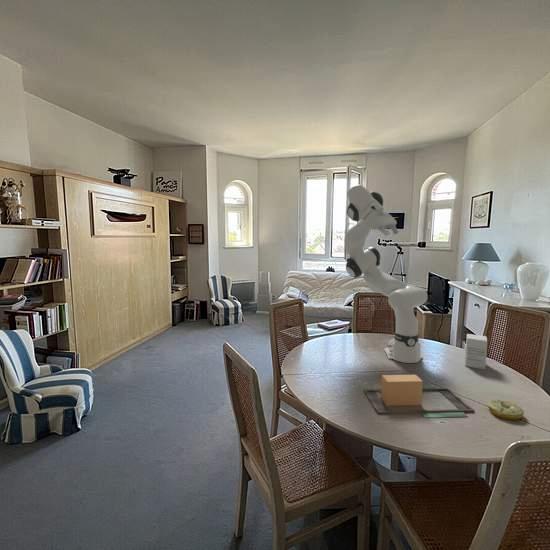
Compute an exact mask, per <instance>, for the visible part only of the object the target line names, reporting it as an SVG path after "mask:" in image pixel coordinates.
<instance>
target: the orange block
mask: <svg viewBox="0 0 550 550" xmlns="http://www.w3.org/2000/svg"><path fill="white" fill-rule="evenodd" d="M422 386H423V380H422V379H421V378H420V377H419V376H418V375H417V374H383V375H381V388H380V389H381V392H380V393H381V394H380V398H381V400H382V401H383V403H384V404H385V406H386V407H388V406H422V400H423V398H422V397H423V391H422Z"/></svg>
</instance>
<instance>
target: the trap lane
mask: <svg viewBox="0 0 550 550" xmlns="http://www.w3.org/2000/svg"><path fill="white" fill-rule="evenodd" d="M422 392H439V393H440V394H441V395H442V396H444V397H445V398H446V399H447V400H448V401H450V403H452V404H453V406H455V407H456V408H457V409H456V408H455V409H453V408H452V409H450V408H449V409H402V410H400V409H399V410H398V409H396V410H395V409H394V410H389V408H388V406H386V404H385V403H384V401H383V400H382V399H381V396H379V394H378V393H381V388H365V389H363V393H364V394H365V396H366V397H367V399H368V401H369V402H370V404H371V405H372V407H373V409H374V411H375V412H376V413H377V415H403V414H406V415H408V414H421V415H422V416H423V417H424V418H425V419H426V418H427V419H432V418H433V419H435V418H437V419H438V418H468V417H469V416H468V415H467V413H475V411H476V410H475V409H474V408H472V406H471V405H469V404H468V403H466V402H465V401H464V400H463V399H462V398H461V397H460V396H458V395H457V394H456V393H455V392H454V391H452V390H451V389H450V388H449V387H436V386H435V385H422Z"/></svg>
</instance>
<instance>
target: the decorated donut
mask: <svg viewBox="0 0 550 550" xmlns="http://www.w3.org/2000/svg"><path fill="white" fill-rule="evenodd" d="M487 405H488V410H489V411H490V413H491V414H492V415H494V416H496V417H498V418H501V419H504V420H512V421H517V420H521V418H522V417H524V413H525V411H524V409H523V408H522V406H519V405H518V404H517V403H514V402H513V401H510V400H506V399H493V400H491V401H489V402H488V404H487Z"/></svg>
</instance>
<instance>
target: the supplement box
mask: <svg viewBox="0 0 550 550" xmlns="http://www.w3.org/2000/svg"><path fill="white" fill-rule="evenodd" d="M487 352H488V337H487V336H486V335H479V334H478V335H477V334H473V333H472V334H471V333H466V343H465V357H464V359H465V360H464V362H465V363H464V366H465V367H469V368H474V369H481V370H486V367H487V366H486V365H487Z"/></svg>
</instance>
